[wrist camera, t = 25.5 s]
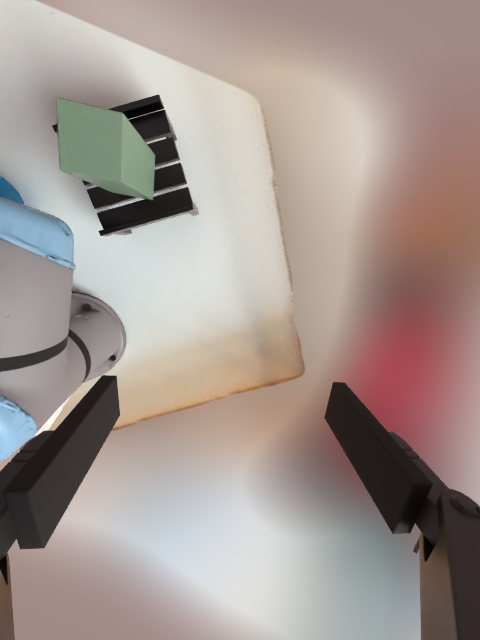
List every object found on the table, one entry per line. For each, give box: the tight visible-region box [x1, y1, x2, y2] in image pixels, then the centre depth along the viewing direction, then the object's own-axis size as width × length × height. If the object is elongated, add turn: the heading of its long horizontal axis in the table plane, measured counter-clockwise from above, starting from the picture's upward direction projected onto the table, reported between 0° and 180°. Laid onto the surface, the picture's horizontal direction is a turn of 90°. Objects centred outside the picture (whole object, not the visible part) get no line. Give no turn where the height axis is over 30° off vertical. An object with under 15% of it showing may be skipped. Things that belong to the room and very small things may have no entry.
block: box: [56, 98, 155, 200], centre depth 24 cm, size 5×5×10 cm
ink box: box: [19, 397, 70, 449], centre depth 42 cm, size 2×11×10 cm, turn 142°
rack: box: [52, 95, 199, 236], centre depth 31 cm, size 12×12×9 cm
